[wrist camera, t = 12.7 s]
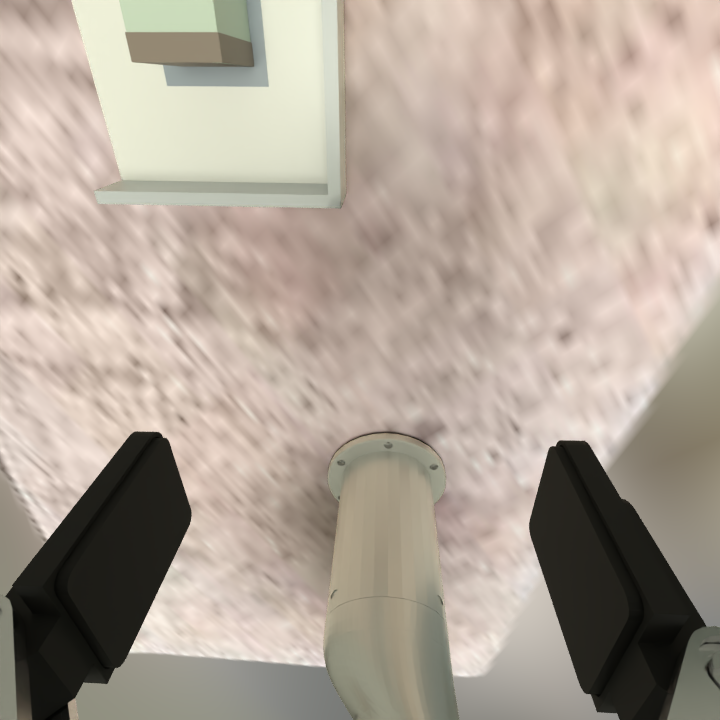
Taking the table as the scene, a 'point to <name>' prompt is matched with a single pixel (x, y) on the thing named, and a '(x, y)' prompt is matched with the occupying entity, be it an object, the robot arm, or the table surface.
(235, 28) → the block
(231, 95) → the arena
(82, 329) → the table surface
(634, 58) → the table surface
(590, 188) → the table surface
